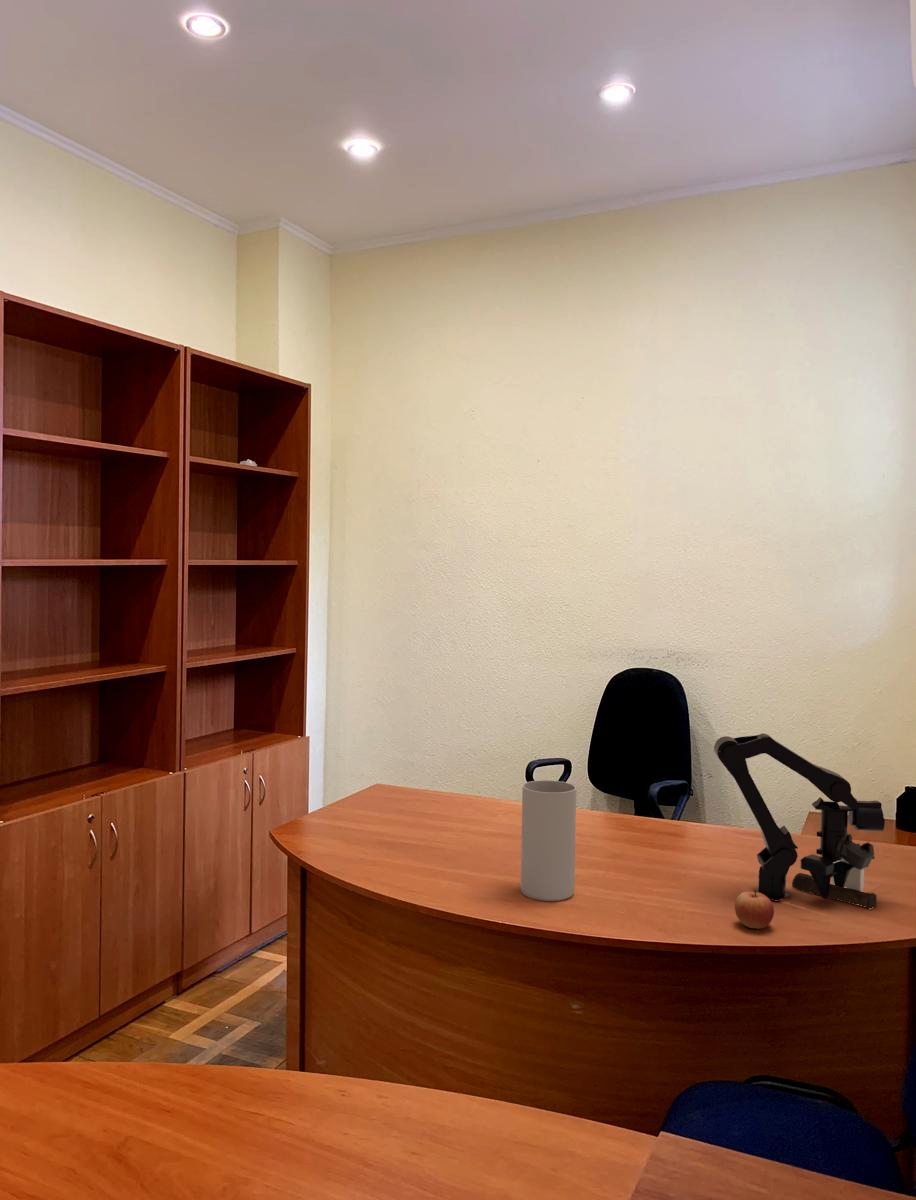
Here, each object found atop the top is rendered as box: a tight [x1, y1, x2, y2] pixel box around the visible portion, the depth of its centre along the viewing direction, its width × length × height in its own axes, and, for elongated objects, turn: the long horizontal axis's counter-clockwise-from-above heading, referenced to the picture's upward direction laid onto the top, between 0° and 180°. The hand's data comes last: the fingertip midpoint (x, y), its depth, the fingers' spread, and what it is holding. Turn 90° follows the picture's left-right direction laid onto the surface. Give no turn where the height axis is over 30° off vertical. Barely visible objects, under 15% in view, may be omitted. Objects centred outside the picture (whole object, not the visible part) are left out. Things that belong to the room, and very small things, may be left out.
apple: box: [734, 888, 775, 929], centre depth 193 cm, size 8×8×8 cm
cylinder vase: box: [520, 779, 577, 902], centre depth 211 cm, size 12×12×25 cm
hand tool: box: [791, 872, 878, 909], centre depth 210 cm, size 19×4×5 cm, turn 44°
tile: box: [831, 867, 865, 891], centre depth 216 cm, size 2×7×8 cm, turn 39°
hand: (832, 895), depth 210 cm, fingers open, 6 cm apart
